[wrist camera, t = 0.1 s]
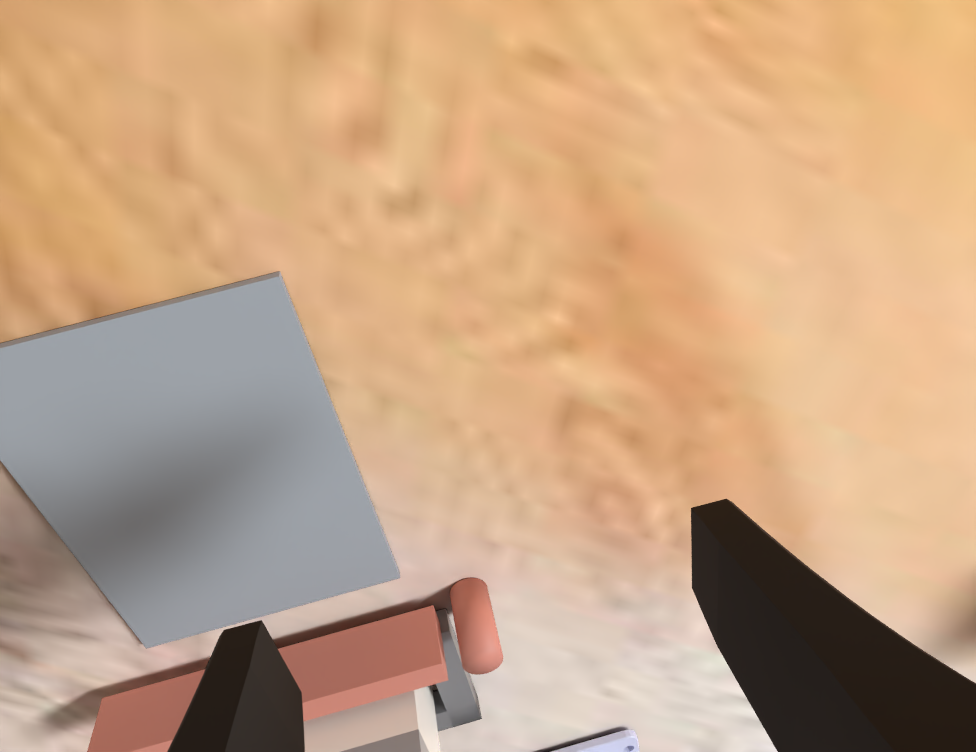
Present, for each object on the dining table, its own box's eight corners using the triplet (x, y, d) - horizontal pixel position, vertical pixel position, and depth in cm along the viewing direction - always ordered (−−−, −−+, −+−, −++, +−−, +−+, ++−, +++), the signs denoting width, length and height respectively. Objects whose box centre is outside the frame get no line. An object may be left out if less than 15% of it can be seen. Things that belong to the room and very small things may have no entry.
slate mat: (399, 571, 26) (400, 577, 25) (148, 641, 25) (146, 648, 25) (279, 271, 19) (279, 276, 19) (-67, 360, 18) (-73, 367, 18)
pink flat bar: (490, 597, 27) (506, 667, 25) (122, 701, 27) (101, 782, 24) (483, 573, 27) (499, 643, 24) (103, 679, 26) (80, 762, 24)
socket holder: (477, 696, 31) (481, 718, 30) (310, 744, 30) (309, 768, 30) (445, 608, 27) (449, 630, 26) (257, 661, 27) (255, 685, 26)
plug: (431, 684, 30) (448, 810, 26) (336, 711, 30) (337, 842, 25) (406, 624, 27) (420, 752, 23) (303, 653, 27) (299, 787, 23)
